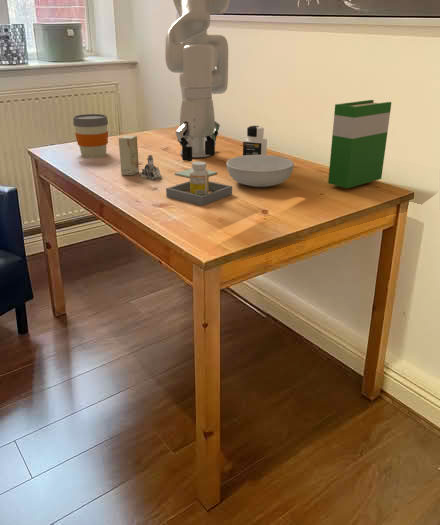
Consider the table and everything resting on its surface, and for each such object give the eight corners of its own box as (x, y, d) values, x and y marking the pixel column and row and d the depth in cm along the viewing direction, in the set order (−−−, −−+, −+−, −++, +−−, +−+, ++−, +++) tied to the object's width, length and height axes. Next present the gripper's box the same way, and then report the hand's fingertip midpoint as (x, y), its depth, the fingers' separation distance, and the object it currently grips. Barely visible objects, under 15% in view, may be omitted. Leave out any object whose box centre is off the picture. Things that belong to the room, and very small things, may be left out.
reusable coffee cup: (116, 158, 194) (112, 117, 188) (84, 162, 188) (79, 120, 181) (103, 152, 203) (99, 113, 197) (72, 156, 197) (67, 115, 191)
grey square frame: (197, 186, 159) (197, 178, 158) (232, 194, 151) (232, 186, 150) (166, 196, 149) (166, 188, 148) (202, 205, 141) (202, 197, 140)
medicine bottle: (242, 160, 191) (243, 127, 186) (248, 156, 197) (249, 124, 192) (260, 161, 189) (261, 128, 184) (266, 157, 195) (267, 125, 190)
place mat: (194, 168, 179) (194, 167, 179) (216, 173, 173) (216, 172, 173) (174, 174, 172) (174, 173, 171) (197, 179, 166) (197, 178, 166)
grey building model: (177, 177, 170) (176, 154, 166) (156, 182, 164) (155, 158, 161) (159, 172, 175) (158, 150, 172) (139, 177, 170) (137, 154, 166)
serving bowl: (216, 179, 167) (215, 157, 164) (272, 172, 175) (273, 152, 172) (243, 196, 150) (244, 173, 147) (305, 188, 157) (306, 166, 154)
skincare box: (133, 176, 170) (130, 138, 165) (120, 175, 171) (117, 138, 166) (139, 171, 176) (137, 135, 171) (127, 170, 177) (125, 134, 172)
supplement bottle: (200, 199, 146) (199, 166, 143) (186, 196, 150) (185, 163, 146) (212, 195, 150) (212, 162, 146) (198, 192, 153) (198, 160, 149)
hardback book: (362, 174, 172) (371, 99, 163) (381, 178, 167) (391, 102, 157) (328, 183, 162) (335, 104, 152) (346, 188, 157) (355, 107, 147)
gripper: (207, 91, 146) (208, 151, 153) (165, 95, 134) (167, 161, 141) (228, 92, 142) (228, 154, 149) (186, 97, 130) (188, 165, 137)
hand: (198, 157), depth 145 cm, fingers open, 9 cm apart
